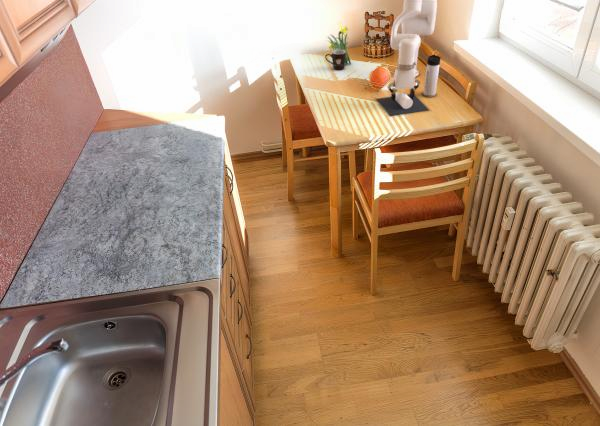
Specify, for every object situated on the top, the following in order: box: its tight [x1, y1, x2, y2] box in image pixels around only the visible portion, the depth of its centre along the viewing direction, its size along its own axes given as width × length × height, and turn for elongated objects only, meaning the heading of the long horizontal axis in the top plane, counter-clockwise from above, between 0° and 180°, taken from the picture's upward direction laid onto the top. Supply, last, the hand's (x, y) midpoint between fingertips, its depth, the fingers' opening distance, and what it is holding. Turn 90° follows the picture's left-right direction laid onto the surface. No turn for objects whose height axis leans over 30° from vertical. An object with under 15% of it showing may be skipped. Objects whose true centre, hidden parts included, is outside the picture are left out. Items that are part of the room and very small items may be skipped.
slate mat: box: [376, 93, 430, 117], centre depth 229 cm, size 20×20×1 cm
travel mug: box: [423, 54, 441, 98], centre depth 230 cm, size 6×7×20 cm
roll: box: [395, 92, 413, 109], centre depth 227 cm, size 6×12×6 cm, turn 13°
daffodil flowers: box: [326, 21, 352, 66], centre depth 284 cm, size 17×15×35 cm
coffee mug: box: [325, 49, 346, 71], centre depth 270 cm, size 12×9×10 cm
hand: (402, 99), depth 227 cm, fingers open, 9 cm apart
